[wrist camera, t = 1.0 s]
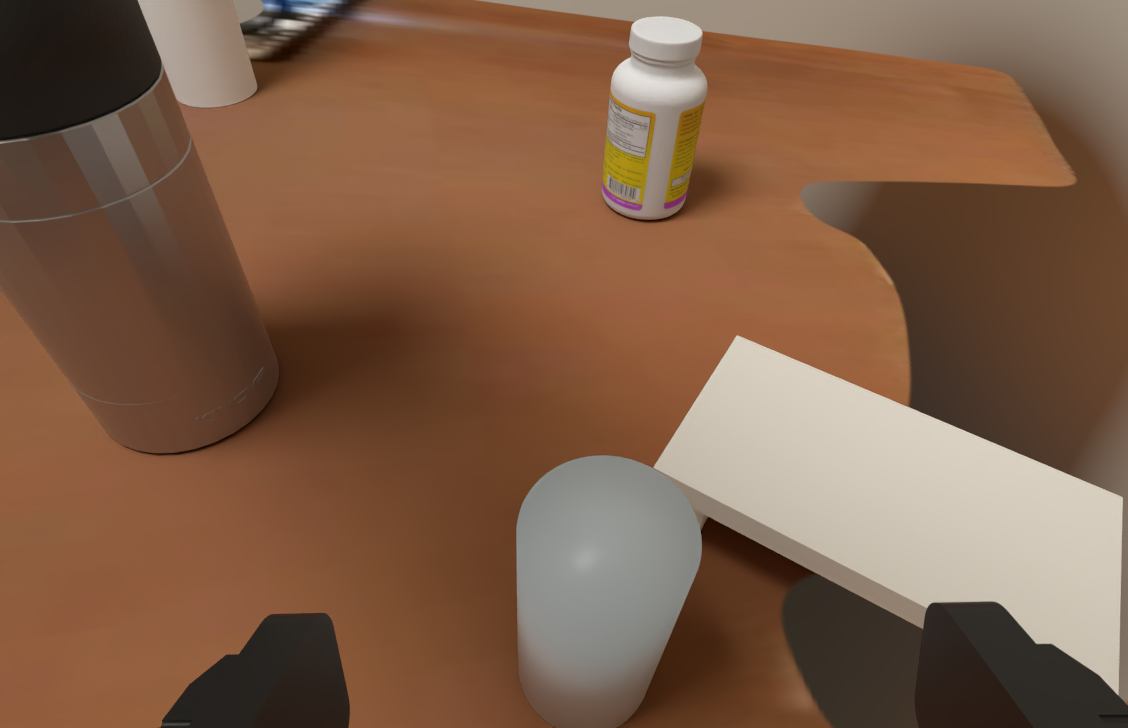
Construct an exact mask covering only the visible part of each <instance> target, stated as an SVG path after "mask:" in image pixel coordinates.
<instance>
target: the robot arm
mask: <svg viewBox="0 0 1128 728" xmlns="http://www.w3.org/2000/svg"><path fill="white" fill-rule="evenodd" d="M0 289H1V290H2V292H3V293H4V294H5V296H6V297H7V298H8V300H9V301H10V302H11V304H12V305H13V306H14V308H15V309H16V310H17V312H18V313H19V314H20V316H21V317H22V318H23V320H24V321H25V323H26V324H27V325H28V327H29V328H30V329H31V331H32V332H33V333H34V335H35V336H36V337H37V339H38V340H39V341H40V343H41V344H42V345H43V347H44V348H45V349H46V351H47V352H48V353H49V355H50V356H51V357H52V359H53V360H54V362H55V363H56V364H57V366H58V367H59V368H60V370H61V371H62V372H63V374H64V375H65V376H66V378H67V379H68V381H69V382H70V384H71V385H72V386H73V388H74V389H75V390H76V392H77V393H78V394H79V396H80V397H81V398H82V400H83V401H84V402H85V404H86V405H87V406H88V408H89V409H90V410H91V412H92V413H93V414H94V415H95V417H96V418H97V419H98V421H99V422H100V423H101V425H102V426H103V427H104V429H105V430H106V431H107V433H108V434H109V435H110V437H112V438H113V439H114V440H116V441H117V442H119V443H120V444H121V445H123V446H126V447H129V448H131V449H134V450H137V451H143V452H149V453H176V452H182V451H187V450H192V449H197V448H200V447H203V446H206V445H209V444H212V443H215V442H217V441H219V440H221V439H223V438H225V437H227V436H229V435H231V434H233V433H235V432H236V431H237V430H239V429H240V428H242V427H243V426H245V425H246V424H248V423H249V422H250V421H251V420H252V419H253V418H254V417H256V416H257V415H258V414H259V413H260V412H261V411H262V410H263V409H264V407H265V406H266V404H267V403H268V402H269V400H270V399H271V398H272V396H273V394H274V391H275V389H276V387H277V384H278V379H279V365H278V359H277V357H276V354H275V352H274V349H273V347H272V344H271V341H270V339H269V336H268V334H267V331H266V329H265V326H264V323H263V321H262V318H261V316H260V313H259V310H258V307H257V304H256V302H255V299H254V297H253V294H252V292H251V289H250V286H249V284H248V281H247V279H246V276H245V274H244V271H243V268H242V266H241V263H240V261H239V258H238V256H237V253H236V250H235V248H234V245H233V243H232V240H231V238H230V235H229V232H228V230H227V227H226V225H225V222H224V220H223V217H222V214H221V212H220V209H219V207H218V204H217V202H216V199H215V196H214V194H213V191H212V189H211V186H210V184H209V181H208V178H207V176H206V173H205V171H204V168H203V166H202V163H201V160H200V158H199V155H198V153H197V150H196V148H195V145H194V142H193V140H192V137H191V135H190V132H189V130H188V128H187V125H186V123H185V120H184V118H183V115H182V112H181V110H180V107H179V105H178V102H177V100H176V97H175V94H174V92H173V89H172V87H171V84H170V82H169V79H168V76H167V74H166V71H165V69H164V66H163V63H162V61H161V57H160V55H159V52H158V50H157V47H156V45H155V42H154V40H153V38H152V35H151V33H150V30H149V28H148V25H147V23H146V20H145V18H144V16H143V13H142V11H141V8H140V5H139V3H138V0H0ZM915 710H916V716H917V721H918V726H919V728H1128V706H1127V704H1126V703H1125V702H1124V701H1123V700H1122V699H1121V698H1120V697H1119V696H1118V695H1117V694H1116V693H1115V692H1114V691H1113V689H1112V688H1111V687H1110V686H1109V685H1108V684H1107V683H1106V682H1105V681H1104V680H1103V679H1102V678H1101V677H1100V676H1099V675H1098V674H1096V673H1095V672H1093V671H1092V670H1090V669H1089V668H1087V667H1086V666H1084V665H1083V664H1081V663H1080V662H1078V661H1077V660H1075V659H1074V658H1072V657H1071V656H1069V655H1068V654H1066V653H1065V652H1063V651H1062V650H1060V649H1059V648H1057V647H1056V646H1054V645H1053V644H1036V643H1035V642H1034V641H1033V639H1032V638H1031V637H1030V636H1029V635H1028V634H1027V633H1026V631H1025V630H1024V629H1023V628H1022V627H1021V626H1020V625H1019V623H1018V622H1017V621H1016V620H1015V619H1014V618H1013V616H1012V615H1011V614H1010V613H1009V612H1008V611H1007V610H1006V609H1005V608H1004V607H1003V606H1002V605H1001V604H999V603H997V602H993V601H982V602H934V603H931V604H930V605H929V606H928V608H927V610H926V613H925V618H924V626H923V634H922V642H921V650H920V658H919V665H918V674H917V682H916V689H915ZM349 715H350V706H349V697H348V692H347V687H346V683H345V678H344V673H343V669H342V664H341V659H340V655H339V650H338V645H337V640H336V636H335V631H334V627H333V623H332V620H331V618H330V617H329V616H328V615H327V614H325V613H302V614H271V615H269V616H267V617H266V618H265V619H264V620H263V621H262V623H261V624H260V625H259V627H258V628H257V630H256V631H255V632H254V634H253V635H252V637H251V638H250V640H249V641H248V642H247V644H246V645H245V647H244V648H243V649H242V651H241V652H240V654H239V655H226V656H224V657H223V658H222V659H221V660H219V661H218V662H217V663H216V664H214V665H213V666H212V667H211V668H209V669H208V670H207V671H206V672H204V673H203V674H202V675H201V676H199V677H198V678H197V679H196V680H194V681H193V682H192V683H191V684H190V685H189V686H188V687H187V688H186V690H185V691H184V692H183V694H182V695H181V696H180V698H179V699H178V700H177V702H176V703H175V704H174V705H173V707H172V708H171V709H170V711H169V712H168V713H167V715H166V716H165V717H164V719H163V720H162V726H161V727H160V728H348V726H349Z"/></svg>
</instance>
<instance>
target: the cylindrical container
mask: <svg viewBox="0 0 1128 728" xmlns="http://www.w3.org/2000/svg"><path fill="white" fill-rule="evenodd" d="M138 2H139V5H140V7H141V10H142V12H143V15H144V18H145V20H146V23H147V25H148V28H149V30H150V33H151V35H152V38H153V40H154V42H155V45H156V47H157V50H158V52H159V55H160V57H161V61H162V63H163V66H164V69H165V71H166V74H167V76H168V79H169V82H170V84H171V87H172V89H173V92H174V94H175V97H176V99H177V100H178V101H179V102H181V103H183V104H185V105H188V106H192V107H201V108H214V107H222V106H227V105H232V104H235V103H238V102H241V101H243V100H245V99H247V98H249V97H251V96H252V95H253V94H254V93H255V92H256V90H257V82H256V79H255V76H254V72H253V69H252V65H251V62H250V58H249V55H248V52H247V48H246V45H245V41H244V38H243V34H242V31H241V28H240V24H239V21H238V17H237V14H236V10H235V7H234V4H233V0H138Z"/></svg>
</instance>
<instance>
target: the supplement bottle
mask: <svg viewBox="0 0 1128 728" xmlns="http://www.w3.org/2000/svg"><path fill="white" fill-rule="evenodd" d="M701 42H702V31H701V29H700V28H699V27H698V26H696V25H695V24H693V23H691V22H688V21H686V20H682V19H677V18H672V17H648V18H643V19H640V20H638V21H636V22H634V23H633V25H632V27H631V34H630V40H629V46H630V50H631V53H632V55H631V58H628V59H627V60H625V61H623V62H622V63H621V64H620V65H619V66H618V67H617V68H616V70H615V71H614V73H613V76H612V81H611V89H610V101H609V112H608V123H607V134H606V146H605V157H604V168H603V179H602V194H603V197H604V200H605V201H606V203H607V204H608V205H609V206H610V207H611V208H612V209H613V210H615V211H616V212H618V213H620V214H622V215H624V216H627V217H630V218H635V219H643V220H654V219H661V218H665V217H668V216H671V215H673V214H674V213H676V212H677V211H678V210H679V209H680V208H681V207H682V206H683V204H684V202H685V199H686V195H687V190H688V185H689V180H690V175H691V170H692V165H693V160H694V155H695V149H696V144H697V139H698V134H699V129H700V124H701V119H702V114H703V109H704V104H705V99H706V93H707V81H706V77H705V75H704V74H703V72H702V71H701V70H700V68H698V67H697V66H696V65H695V64H694V62H695V59H696V58H697V55H698V54H699V52H700V48H701Z"/></svg>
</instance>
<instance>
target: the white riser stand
mask: <svg viewBox="0 0 1128 728" xmlns="http://www.w3.org/2000/svg"><path fill="white" fill-rule="evenodd" d="M653 469H655V470H656V471H658V472H660V473H661V474H663V475H664V476H665V477H667V478H668V479H669V480H670V481H671V482H672V483H674V484H675V485H676V486H677V487H678V488H679V490H680V491H681V492H682V493H683V494H684V495H685V497H686V498H687V500H688V501H689V503H690V504H691V506H692V508H693V510H694V512H695V514H696V517H697V520H698V523H699V527H700V531H701V529H702V527H703V525H704V524H705V522H706V520H707V518H708V517H710V518H712V519H714V520H716V521H718V522H720V523H721V524H723V525H725V526H727V527H729V528H731V529H733V530H735V531H737V532H739V533H741V534H742V535H744V536H746V537H748V538H750V539H752V540H754V541H756V542H758V543H760V544H762V545H763V546H765V547H767V548H769V549H771V550H773V551H775V552H777V553H779V554H781V555H782V556H784V557H786V558H788V559H790V560H792V561H794V562H796V563H798V564H800V565H802V566H803V567H805V568H807V569H809V570H811V571H813V572H815V573H817V574H819V575H821V576H823V577H825V578H827V579H828V580H830V581H832V582H834V583H836V584H838V585H840V586H842V587H843V588H846V589H847V590H849V591H851V592H853V593H855V594H857V595H859V596H861V597H863V598H865V599H866V600H868V601H870V602H872V603H874V604H876V605H878V606H880V607H882V608H884V609H886V610H887V611H890V612H891V613H893V614H895V615H897V616H899V617H901V618H903V619H905V620H906V621H908V622H910V623H912V624H914V625H916V626H918V627H920V628H922V629H923V626H924V618H925V613H926V610H927V608H928V606H929V605H930V604H931V603H934V602H982V601H993V602H997V603H999V604H1001V605H1002V606H1003V607H1004V608H1005V609H1006V610H1007V611H1008V612H1009V613H1010V614H1011V615H1012V616H1013V618H1014V619H1015V620H1016V621H1017V622H1018V623H1019V625H1020V626H1021V627H1022V628H1023V629H1024V630H1025V631H1026V633H1027V634H1028V635H1029V636H1030V637H1031V638H1032V639H1033V641H1034V642H1035V643H1036V644H1053V645H1054V646H1056V647H1057V648H1059V649H1060V650H1062V651H1063V652H1065V653H1066V654H1068V655H1069V656H1071V657H1072V658H1074V659H1075V660H1077V661H1078V662H1080V663H1081V664H1083V665H1084V666H1086V667H1087V668H1089V669H1090V670H1092V671H1093V672H1095V673H1096V674H1098V675H1099V676H1100V677H1101V678H1102V679H1103V680H1104V681H1105V682H1106V683H1107V684H1108V685H1109V686H1110V687H1111V688H1112V689H1113V691H1114V692H1115V693H1116V694H1117V695H1118V693H1119V692H1118V691H1119V690H1118V689H1119V647H1120V600H1121V599H1120V597H1121V551H1122V506H1123V497H1120V496H1118V495H1115V494H1114V493H1111V492H1109V491H1106V490H1104V489H1101V488H1099V487H1097V486H1094V485H1092V484H1089V483H1087V482H1085V481H1083V480H1080V479H1078V478H1075V477H1073V476H1071V475H1068V474H1066V473H1064V472H1061V471H1059V470H1056V469H1054V468H1052V467H1049V466H1047V465H1044V464H1042V463H1040V462H1037V461H1035V460H1033V459H1030V458H1028V457H1025V456H1023V455H1021V454H1018V453H1016V452H1014V451H1011V450H1009V449H1006V448H1004V447H1002V446H999V445H997V444H995V443H992V442H990V441H987V440H985V439H983V438H980V437H978V436H975V435H973V434H971V433H968V432H966V431H964V430H961V429H959V428H956V427H954V426H952V425H949V424H947V423H945V422H942V421H940V420H937V419H935V418H933V417H930V416H928V415H925V414H923V413H921V412H918V411H916V410H914V409H911V408H909V407H906V406H904V405H902V404H899V403H897V402H895V401H892V400H890V399H887V398H885V397H883V396H880V395H878V394H876V393H873V392H871V391H868V390H866V389H864V388H861V387H859V386H856V385H854V384H852V383H849V382H847V381H845V380H842V379H840V378H837V377H835V376H833V375H830V374H828V373H826V372H823V371H821V370H818V369H816V368H814V367H811V366H809V365H807V364H804V363H802V362H799V361H797V360H795V359H792V358H790V357H787V356H785V355H783V354H780V353H778V352H776V351H773V350H771V349H768V348H766V347H764V346H761V345H759V344H757V343H754V342H752V341H749V340H747V339H745V338H742V337H740V336H738V335H737V336H736V338H735V339H734V341H733V342H732V344H731V346H730V347H729V349H728V350H727V352H726V354H725V355H724V357H723V358H722V360H721V361H720V363H719V365H718V366H717V368H716V369H715V371H714V372H713V374H712V376H711V377H710V379H709V380H708V382H707V383H706V385H705V387H704V388H703V390H702V391H701V393H700V395H699V396H698V398H697V399H696V401H695V402H694V404H693V406H692V407H691V409H690V410H689V412H688V413H687V415H686V417H685V418H684V420H683V421H682V423H681V425H680V426H679V428H678V429H677V431H676V432H675V434H674V436H673V437H672V439H671V440H670V442H669V443H668V445H667V447H666V448H665V450H664V451H663V453H662V455H661V456H660V458H659V459H658V461H657V462H656V464H655V466H654V467H653Z"/></svg>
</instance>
